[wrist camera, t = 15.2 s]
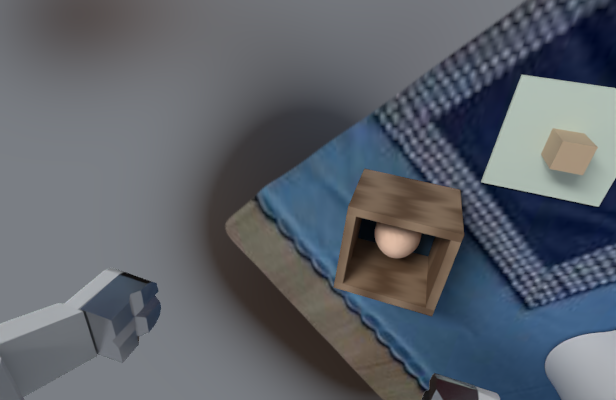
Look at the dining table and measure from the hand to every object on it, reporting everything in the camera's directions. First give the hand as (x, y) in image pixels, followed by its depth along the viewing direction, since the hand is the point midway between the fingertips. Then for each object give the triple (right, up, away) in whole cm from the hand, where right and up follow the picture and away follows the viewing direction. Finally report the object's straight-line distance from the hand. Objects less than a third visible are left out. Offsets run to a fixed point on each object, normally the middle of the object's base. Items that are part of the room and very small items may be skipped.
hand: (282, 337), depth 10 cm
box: (+13, +1, +39) cm, 41 cm away
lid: (+28, +10, +30) cm, 42 cm away
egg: (+13, +2, +40) cm, 42 cm away
